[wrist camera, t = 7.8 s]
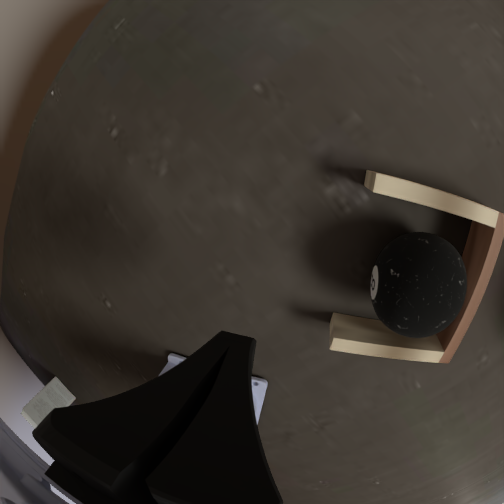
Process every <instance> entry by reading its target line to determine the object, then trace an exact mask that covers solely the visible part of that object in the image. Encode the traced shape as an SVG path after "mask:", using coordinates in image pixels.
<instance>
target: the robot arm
mask: <svg viewBox="0 0 504 504" xmlns="http://www.w3.org/2000/svg"><path fill="white" fill-rule="evenodd" d="M255 347H256V340H255V339H254V338H251V337H247V336H242V335H238V334H234V333H230V332H225V331H221V332H219V333H218V334H217V335H215V336H214V337H213V338H212V339H211V340H210V341H208V342H207V343H206V344H205V345H203V346H202V347H201V348H200V349H198V350H197V351H196V352H194V353H193V354H192V355H190V356H189V357H188V358H185V357H182V356H179V355H176V354H173V353H170V354H169V356H168V363H167V364H166V366H165V367H164V369H163V370H162V371H161V373H160V374H159V376H158V377H156V378H154V379H153V380H151V381H149V382H147V383H145V384H142V385H140V386H138V387H136V388H133V389H131V390H129V391H126V392H124V393H121V394H118V395H115V396H112V397H109V398H105V399H102V400H98V401H95V402H91V403H86V404H81V405H74V406H67V407H60V408H54V409H53V410H52V411H51V412H50V413H49V414H48V415H47V416H46V417H45V418H44V419H43V420H42V421H41V422H40V424H39V425H38V426H37V427H36V428H35V429H34V430H33V432H32V434H33V437H34V438H35V440H36V441H37V442H38V443H39V444H40V446H41V447H42V448H43V449H44V450H45V451H46V452H47V453H48V454H49V455H50V456H51V457H52V458H53V459H54V460H55V461H54V462H53V463H52V464H51V466H49V465H48V464H47V463H46V462H45V461H43V460H42V459H41V458H40V457H39V456H38V455H37V454H36V453H34V452H33V451H32V450H31V449H30V448H29V447H28V446H27V445H26V444H25V443H24V442H23V441H22V440H21V439H20V438H19V437H18V436H17V435H16V434H15V433H14V432H13V431H12V430H11V429H10V428H9V427H8V426H7V425H6V424H5V422H3V420H2V419H1V418H0V504H69V503H67V502H66V501H65V500H63V499H62V498H60V497H59V496H58V495H56V494H55V493H53V492H52V491H51V488H50V484H51V485H52V486H54V487H55V488H56V489H57V490H59V491H60V492H61V493H62V494H64V495H65V496H66V497H68V498H69V499H70V500H72V501H73V502H75V503H76V504H283V500H282V498H281V495H280V493H279V491H278V489H277V486H276V484H275V482H274V479H273V477H272V474H271V471H270V468H269V466H268V463H267V460H266V456H265V453H264V450H263V446H262V443H261V439H260V435H259V431H258V426H257V424H258V420H259V416H260V412H261V408H262V405H263V401H264V397H265V392H266V388H267V384H268V382H267V381H266V380H264V379H261V378H257V377H253V376H252V368H253V361H254V354H255ZM256 382H257V383H256Z"/></svg>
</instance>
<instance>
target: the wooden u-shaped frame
mask: <svg viewBox="0 0 504 504" xmlns="http://www.w3.org/2000/svg"><path fill="white" fill-rule="evenodd" d="M364 186H365V187H367V188H368V189H369V190H371V191H372V192H375V193H379V194H383V195H387V196H391V197H395V198H399V199H403V200H407V201H411V202H414V203H418V204H422V205H425V206H429V207H432V208H436V209H439V210H442V211H446V212H449V213H452V214H455V215H459V216H462V217H465V218H468V219H471V220H472V223H471V227H470V231H469V234H468V238H467V241H466V245H465V248H464V251H463V254H462V260H463V262H464V265H465V269H466V274H467V291H466V297H465V300H464V303H463V306H462V308H461V310H460V312H459V314H458V315H457V317H456V318H455V319H454V321H453V322H452V323H451V324H450V325H449V326H448V327H446V328H445V329H444V330H442V331H441V332H439V333H437V334H435V335H432V336H429V337H425V338H410V337H405V336H402V335H399V334H397V333H395V332H393V331H392V330H390V329H389V328H388V327H386V326H385V325H384V324H383V323H382V321H380V320H374V319H368V318H362V317H356V316H350V315H345V314H339V313H334V312H333V315H332V318H331V321H330V350H335V351H342V352H348V353H355V354H361V355H369V356H376V357H384V358H393V359H402V360H412V361H423V362H436V363H449V361H450V360H451V358H452V356H453V355H454V353H455V351H456V350H457V348H458V346H459V344H460V342H461V341H462V339H463V337H464V335H465V333H466V331H467V329H468V327H469V325H470V323H471V321H472V319H473V317H474V315H475V313H476V311H477V308H478V306H479V304H480V302H481V299H482V297H483V295H484V292H485V290H486V287H487V285H488V282H489V280H490V277H491V274H492V272H493V269H494V266H495V263H496V260H497V257H498V254H499V251H500V248H501V244H502V241H503V237H504V214H503V213H501V212H499V211H496V210H494V209H492V208H489V207H487V206H485V205H482V204H479V203H477V202H474V201H471V200H469V199H466V198H463V197H460V196H457V195H454V194H451V193H448V192H445V191H442V190H439V189H436V188H433V187H429V186H426V185H423V184H419V183H416V182H412V181H409V180H405V179H402V178H398V177H394V176H390V175H386V174H382V173H378V172H374V171H370V170H367V171H366V177H365V182H364Z"/></svg>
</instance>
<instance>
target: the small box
mask: <svg viewBox="0 0 504 504" xmlns="http://www.w3.org/2000/svg"><path fill="white" fill-rule="evenodd" d="M75 399H76V397H75V396H74V395H73V394H72V393H71V392H70V391H69V390H68V389H67V388H66V387H65V386H64V385H63V384H62V382H61V381H60V380H59V379H58V378H57V377H54V378H53V379H52V380H51V381H50V382H49V383H48V384H47V385H46V386H45V387H44V388H43V389H42V390H41V391H40V392H39V393H38V394H37V395H36V396H35V397H34V398H33V399H32V400H31V401H30V402H29V403H28V404H27V405H26V406H25V407H24V408H23V410H22V413H21V414H22V415H23V416H24V417H25V419H26V420H27V421H28V422H29V423H30V424H31V425H32V426H33V427H34V429H35V428H36V427H37V426H38V425H39V424H40V422H41V421H42V420H43V419H44V418H45V417H46V416H47V415H48V414H49V413H50V412H51V411H52V410H53V409H54V408H60V407H67V406H69V405H70V404H71V403H72V402H73V401H74V400H75Z"/></svg>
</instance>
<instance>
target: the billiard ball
mask: <svg viewBox="0 0 504 504" xmlns="http://www.w3.org/2000/svg"><path fill="white" fill-rule="evenodd" d="M466 291H467V274H466V269H465V265H464V262H463V260H462V258H461V256H460V254H459V253H458V251H457V250H456V249H455V247H454V246H453V245H452V244H450V243H449V242H448V241H446V240H445V239H443V238H441V237H439V236H437V235H434V234H430V233H425V232H413V233H408V234H404V235H401V236H399V237H397V238H395V239H394V240H392V241H391V242H390V243H388V244H387V245H386V246H385V248H384V249H383V250H382V251H381V253H380V254H379V256H378V258H377V260H376V262H375V265H374V268H373V271H372V276H371V299H372V303H373V307H374V309H375V312H376V314H377V316H378V317H379V319H380V320H381V321H382V323H383V324H384V325H385V326H386V327H388V328H389V329H390V330H392V331H393V332H395V333H397V334H399V335H402V336H405V337H410V338H425V337H429V336H432V335H435V334H437V333H439V332H441V331H442V330H444V329H445V328H446V327H448V326H449V325H450V324H451V323H452V322H453V321H454V319H455V318H456V317H457V315H458V314H459V312H460V310H461V308H462V306H463V303H464V300H465V297H466Z"/></svg>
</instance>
